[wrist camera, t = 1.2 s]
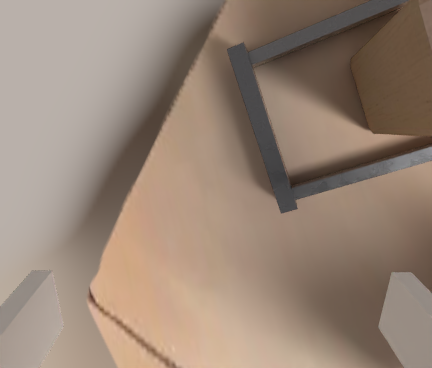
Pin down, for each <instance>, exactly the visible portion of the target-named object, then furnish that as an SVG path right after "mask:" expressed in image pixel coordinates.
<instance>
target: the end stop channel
mask: <svg viewBox="0 0 432 368" xmlns="http://www.w3.org/2000/svg"><path fill="white" fill-rule="evenodd" d="M409 1H410V0H371V1H368V2H366V3H364V4H361V5H359V6H357V7H354V8H352V9H350V10H347V11H345V12H342V13H340V14H338V15H335V16H333V17H331V18H328V19H326V20H324V21H321V22H319V23H316V24H314V25H312V26H309V27H307V28H305V29H302V30H300V31H297V32H295V33H293V34H290V35H288V36H286V37H283V38H281V39H279V40H276V41H274V42H271V43H269V44H267V45H264V46H262V47H260V48H257V49H255V50H252V51H250V52H248V51H247V49H246V47H245V44H244V42H243V43H241V44H238V45H236V46H234V47H231V48H229V49H227V51H228V54H229V57H230V60H231V63H232V66H233V69H234V72H235V75H236V78H237V81H238V84H239V88H240V91H241V94H242V97H243V100H244V103H245V106H246V109H247V112H248V115H249V118H250V121H251V124H252V127H253V130H254V133H255V136H256V139H257V142H258V145H259V148H260V151H261V154H262V157H263V160H264V163H265V166H266V169H267V172H268V175H269V178H270V181H271V184H272V187H273V190H274V193H275V196H276V199H277V202H278V205H279V208H280V212H281V213H285V212H288V211H292V210H295V209H298V208H297V203H296V200H297V199H300V198H304V197H307V196H311V195H314V194H318V193H321V192H324V191H328V190H331V189H335V188H338V187H342V186H345V185H349V184H352V183H356V182H359V181H363V180H366V179H370V178H373V177H377V176H380V175H383V174H387V173H390V172H394V171H397V170H401V169H404V168H408V167H411V166H415V165H418V164H422V163H425V162H429V161H432V143H431V144H428V145H425V146H421V147H418V148H415V149H411V150H408V151H405V152H402V153H398V154H395V155H392V156H388V157H385V158H382V159H378V160H375V161H372V162H368V163H365V164H362V165H358V166H355V167H352V168H348V169H345V170H342V171H338V172H335V173H332V174H328V175H325V176H322V177H318V178H315V179H312V180H308V181H305V182H302V183H298V184H295V185H292V186H291V183H290V180H289V177H288V174H287V171H286V167H285V164H284V161H283V158H282V155H281V152H280V149H279V146H278V143H277V140H276V137H275V134H274V130H273V127H272V124H271V121H270V118H269V115H268V112H267V109H266V106H265V103H264V100H263V97H262V93H261V90H260V87H259V84H258V81H257V78H256V75H255V72H254V69H253V68H255V67H257V66H260V65H262V64H264V63H267V62H269V61H272V60H274V59H277V58H279V57H282V56H284V55H287V54H289V53H291V52H294V51H296V50H299V49H301V48H304V47H306V46H309V45H311V44H314V43H316V42H318V41H321V40H323V39H326V38H328V37H331V36H333V35H336V34H338V33H341V32H343V31H345V30H348V29H350V28H353V27H355V26H358V25H360V24H363V23H365V22H368V21H370V20H372V19H375V18H377V17H380V16H382V15H385V14H387V13H390V12H392V11H395V10H397V9H399V8H402V7H404V6H405V5H406V4H407V3H408V2H409Z"/></svg>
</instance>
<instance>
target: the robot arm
mask: <svg viewBox="0 0 432 368" xmlns="http://www.w3.org/2000/svg"><path fill="white" fill-rule="evenodd" d="M63 327H64V325H63V320H62V315H61V310H60V305H59V300H58V295H57V291H56V286H55V281H54V276H53V271H45V270H44V271H40V270H38V271H36V270H35V271H34V270H32V271H31V273H30V274H29V275H28V276H27V277H26V278H25V279H24V280H23V282H22V283H21V284H20V285H19V286H18V287H17V288H16V289H15V290H14V291H13V293H12V294H11V295H10V296H9V297H8V298H7V299H6V301H5V302H4V303H3V304H2V305H1V306H0V368H40V367H41V365H42V363H43V361H44V360H45V358H46V356H47V354H48V353H49V351H50V349H51V348H52V346H53V344H54V342H55V341H56V339H57V337H58V336H59V334H60V332H61V330H62V329H63ZM378 328H379V329H380V331H381V332H382V334H383V336H384V337H385V339H386V340H387V342H388V343H389V345H390V347H391V348H392V350H393V351H394V353H395V354H396V356H397V358H398V359H399V361H400V362H401V364H402V365H403V367H404V368H432V293H431V292H430V291H429V290H428V289H427V288H426V287H425V286H424V285H423V284H422V283H421V282H420V281H419V280H418V278H417V277H416V276H415V275H414V274H413V273H412V272H392V273H391V277H390V281H389V285H388V289H387V293H386V297H385V301H384V305H383V309H382V313H381V317H380V321H379V326H378Z"/></svg>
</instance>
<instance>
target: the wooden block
mask: <svg viewBox="0 0 432 368" xmlns="http://www.w3.org/2000/svg"><path fill="white" fill-rule="evenodd" d="M350 67H351V70H352V73H353V77H354V80H355V83H356V86H357V90H358V93H359V96H360V100H361V103H362V106H363V109H364V113H365V116H366V119H367V123H368V126H369V129H370V130H371V131H372V132H373V133H374V134H392V135H411V136H430V137H432V0H410V1H409V2H408V3H407V4H406V5H405V6H404V7H403V8H402V9H401V10H400V11H399V12H398V13H397V14H396V15H395V16H394V17H393V18H392V19H391V20H390V21H389V22H388V23H387V24H386V25H385V26H384V27H383V28H382V29H381V30H380V31H379V32H378V33H377V34H376V35H375V36H374V37H373V38H372V39H371V40H370V41H369V42H368V43H367V44H366V45H365V46H364V47H362V48H361V49H360V50H359V51H358V52H357V53H356V54H355V55H354V56H353V57H352V58H351V63H350Z"/></svg>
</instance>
